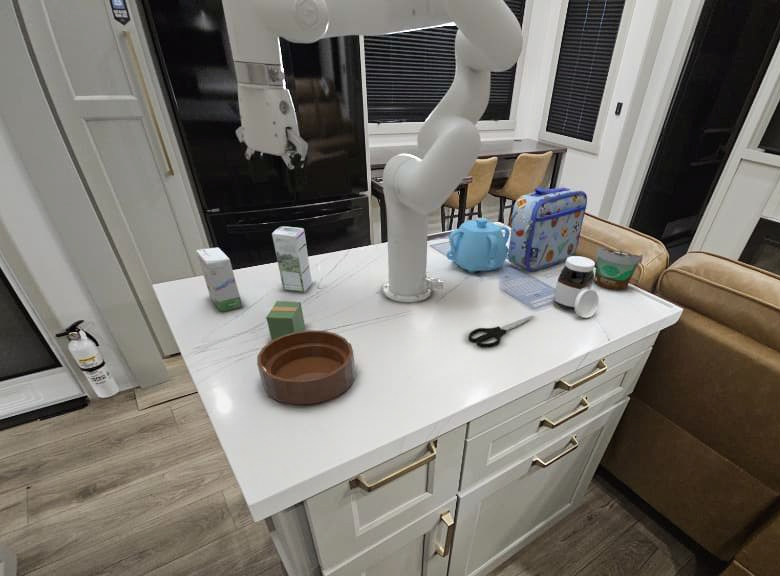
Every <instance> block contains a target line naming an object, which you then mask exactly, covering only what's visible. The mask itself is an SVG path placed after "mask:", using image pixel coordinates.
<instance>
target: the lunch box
mask: <svg viewBox="0 0 780 576" xmlns="http://www.w3.org/2000/svg"><path fill="white" fill-rule="evenodd" d="M587 204H588V195H587V193H586V192H585V191H584V190H575V189H573V190H572V189H570V188H567V187H556V188H555V187H554V188H550V189H543V188H541V187H534V192H530V193H526V194H523V195H521V196H519V197H518V198H517V199H516V200H515V203H514V204H513V209H512V215H511V216H512V217H511V228H510V235H509V242H508V253H507V259H508V262H509V263H511V264H515V265H517V266H521V267H523V268H525V269H526V271H529V272H532V271H533V272H536V271H538V270H541V269H543V268H547V267H550V266H552V265H555V264H557V263H559V262H562V261H564V260H566V259H567V258H568V257H570V256H574V254H575V252H576V251H577V249H578V246H579V242H580V237H581V231H582V226H583V221H584V218H585V214H586V210H587Z"/></svg>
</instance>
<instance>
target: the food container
mask: <svg viewBox="0 0 780 576" xmlns="http://www.w3.org/2000/svg"><path fill="white" fill-rule="evenodd" d="M596 255H597V261H596V267H595V272H594V279H593V283H594V284H595V285H597V286H599V288H602V289H605V290H609V291H623V290H626V289H627V288H628V286H629V284H630V282H631V279H632V277H633V276H634V273H635V271H636V269H637V267H638V265H640V264H641V263H642V262H643V258H644V255H643V252H642V253H641V254H640V255H637V254H631V253H629V252H625V251H622V250H610V249H605V248H602V246H601V245H599V247H598V248H597V250H596Z"/></svg>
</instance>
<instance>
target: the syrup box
mask: <svg viewBox="0 0 780 576" xmlns="http://www.w3.org/2000/svg"><path fill="white" fill-rule="evenodd" d="M271 237H272V241H273V246H274V250H275V256H276V260H277V265H278V270H279V275H280V279H281V286H282V290H283V291H288V292H301V293H306V292H307V290H308V289H309V288H310V287H311V286H312V284H313V279H312V274H311V267H310V260H309V255H308V248H307V247H308V246H307V240H306V233H305V229H304V228H303V227H294V226H293V227H292V226H283V225H282V226H279V227H278V228H276V229H275V230H274V231H273V232H272V233H271Z"/></svg>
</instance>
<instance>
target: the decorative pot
mask: <svg viewBox="0 0 780 576" xmlns="http://www.w3.org/2000/svg"><path fill="white" fill-rule="evenodd" d="M503 230H504V233H503ZM510 236H511V231H510V230H509V228H508V227H507V226H506V225H498V224H495V223H493V222H491V221H489V219H487V218H484V217H477V218H475V220H473V219H468V220H465V222H463V223H461V224H460V226H459V227H458V228H456V229H454V230H452V231H451V232H450V234H449V236H448V240H449V245H450V250H448V251H447V253H446V258H447V259H448V260H450V261H454V262H455V263H456V265H458V266H459V268H462V269H464V270H467V272H469V273H471V274H472V273H473V274H475V273H477V272H478V271H481V272H482V271H496V270H497V269H498V268H500V267H501V266H502V265H503V264H504V263H505V261H506V259H507V255H508V250H509V246H507V242H509V241H508V240H510Z"/></svg>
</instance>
